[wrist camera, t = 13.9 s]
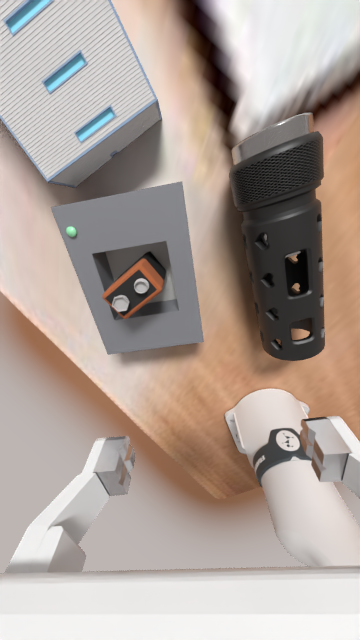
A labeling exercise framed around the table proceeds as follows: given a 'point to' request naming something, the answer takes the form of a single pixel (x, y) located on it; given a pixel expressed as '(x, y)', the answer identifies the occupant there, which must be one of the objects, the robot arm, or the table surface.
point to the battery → (136, 286)
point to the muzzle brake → (283, 232)
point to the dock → (123, 251)
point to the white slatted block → (71, 85)
